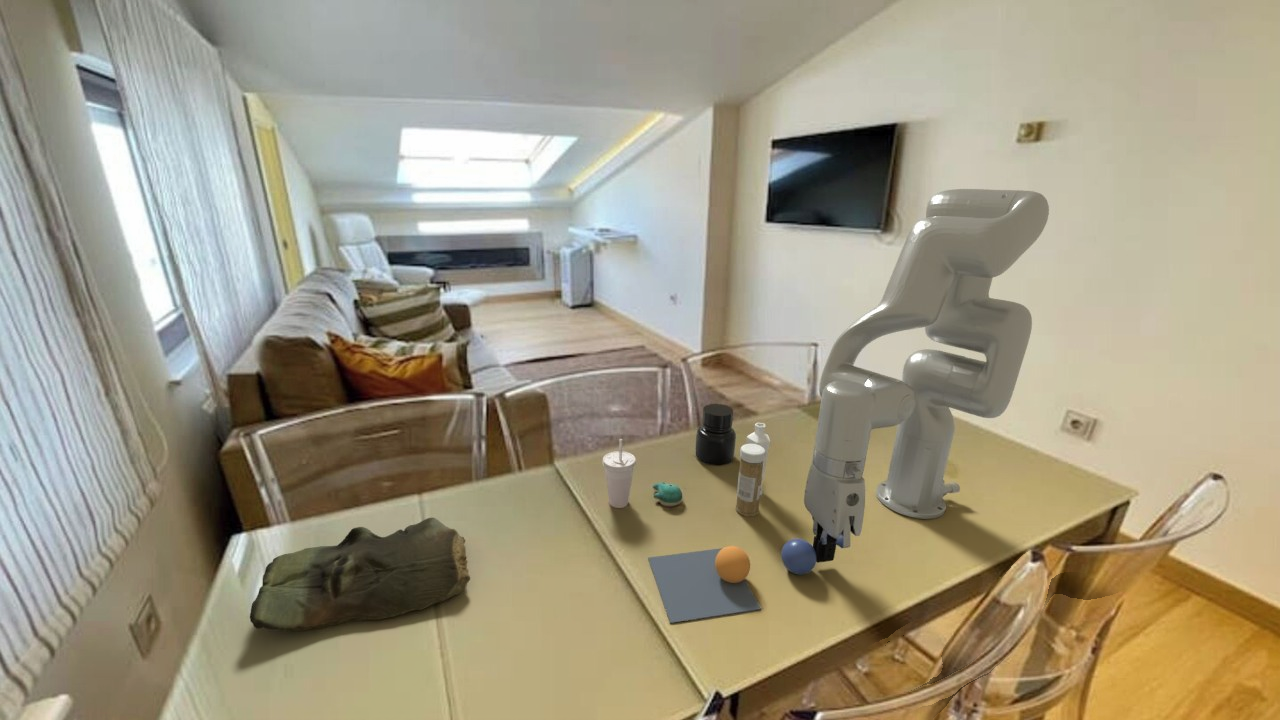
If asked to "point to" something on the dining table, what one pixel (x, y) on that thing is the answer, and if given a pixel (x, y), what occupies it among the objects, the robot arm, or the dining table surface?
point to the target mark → (698, 587)
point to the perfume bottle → (760, 442)
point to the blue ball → (798, 556)
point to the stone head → (362, 578)
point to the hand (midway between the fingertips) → (822, 558)
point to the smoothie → (619, 476)
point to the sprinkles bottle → (750, 479)
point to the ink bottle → (716, 435)
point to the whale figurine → (668, 494)
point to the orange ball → (732, 564)
